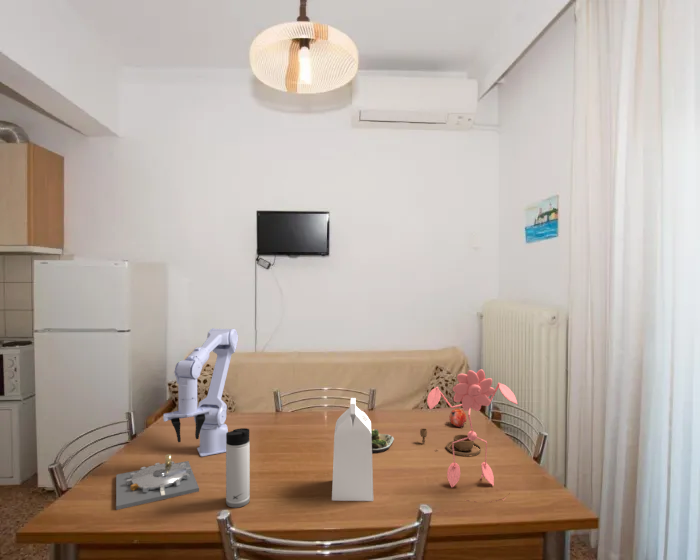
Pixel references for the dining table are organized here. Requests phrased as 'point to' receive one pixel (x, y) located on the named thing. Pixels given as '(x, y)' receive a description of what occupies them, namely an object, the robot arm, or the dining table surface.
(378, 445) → the salad plate
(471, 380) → the figurine
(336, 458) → the milk
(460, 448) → the place setting
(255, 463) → the dining table surface
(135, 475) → the sprocket
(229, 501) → the travel mug
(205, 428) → the robot arm
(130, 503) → the timing board
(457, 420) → the pomegranate
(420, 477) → the dining table surface
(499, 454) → the dining table surface
